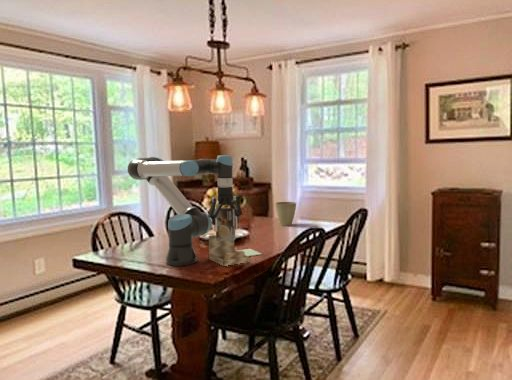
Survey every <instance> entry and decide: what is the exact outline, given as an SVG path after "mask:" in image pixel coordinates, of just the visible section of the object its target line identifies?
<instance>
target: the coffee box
mask: <svg viewBox="0 0 512 380" xmlns="http://www.w3.org/2000/svg"><path fill="white" fill-rule="evenodd" d="M216 218H217V232H215V235H216V241H234V242H235V240H236V238H237V237H236V229H235V212H234V208H230V207H221V209H220V211H219V213H218V214H217V216H216Z"/></svg>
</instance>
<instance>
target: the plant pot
mask: <svg viewBox="0 0 512 380" xmlns="http://www.w3.org/2000/svg"><path fill="white" fill-rule="evenodd" d="M275 208H276V213H277V214H276V215H277V217H278V221H279V224H280V226H282V227H283V226H284V227H289V226H292V224H293V222H294V218H295V215H296V209H297V202H296V201H295V202H294V201H277V202H275Z"/></svg>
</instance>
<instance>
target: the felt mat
mask: <svg viewBox="0 0 512 380" xmlns="http://www.w3.org/2000/svg"><path fill="white" fill-rule="evenodd" d="M237 251H243V252H245V255H246V256H251V257H256V255H257V256H261V255H262V253H261V252H259V251H256V250H255V249H252V248H246V249H239V250H237Z"/></svg>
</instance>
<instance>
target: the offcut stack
mask: <svg viewBox="0 0 512 380" xmlns="http://www.w3.org/2000/svg"><path fill="white" fill-rule="evenodd" d="M242 257H245V252H243V251H238V250H235V252H229V253H225V257H223V258H221V259H223V260H230V259H236V258H242Z"/></svg>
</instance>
